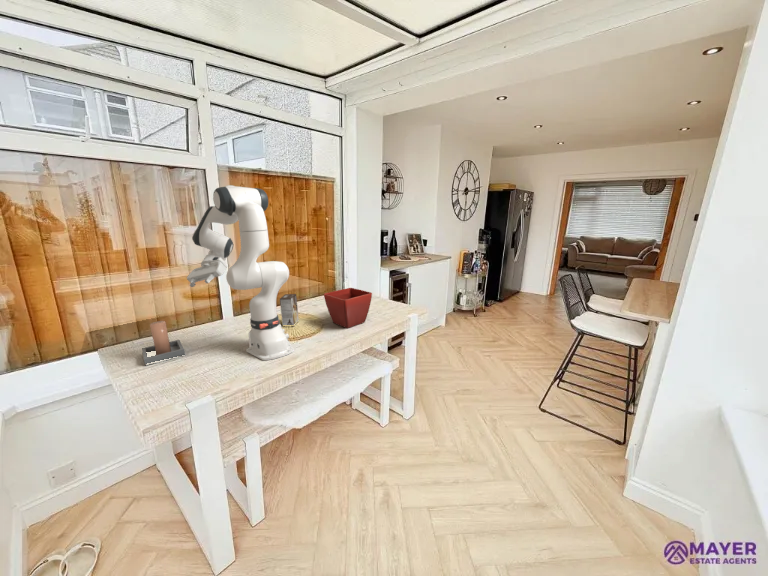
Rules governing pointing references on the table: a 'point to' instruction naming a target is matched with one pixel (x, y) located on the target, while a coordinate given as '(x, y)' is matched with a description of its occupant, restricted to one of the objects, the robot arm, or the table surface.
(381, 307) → the table surface
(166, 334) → the terracotta jar
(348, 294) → the plant pot
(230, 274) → the robot arm
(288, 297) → the coffee box
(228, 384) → the table surface
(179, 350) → the box
